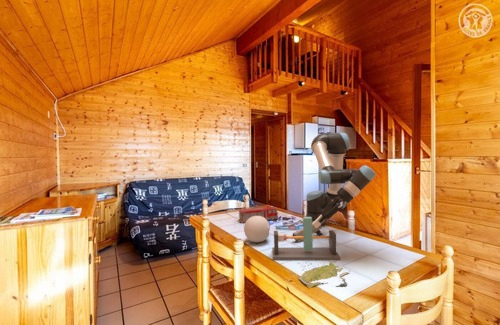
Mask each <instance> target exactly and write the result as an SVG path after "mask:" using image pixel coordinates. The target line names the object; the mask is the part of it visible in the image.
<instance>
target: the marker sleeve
mask: <svg viewBox="0 0 500 325" xmlns="http://www.w3.org/2000/svg"><path fill="white" fill-rule="evenodd" d="M302 228H303V236H304V239H303V247H304V250H313V247H314V246H313V245H314V244H313V237H312V236H313V234H312V218H311V217H306V216H302Z"/></svg>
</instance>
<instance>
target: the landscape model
mask: <svg viewBox="0 0 500 325" xmlns="http://www.w3.org/2000/svg"><path fill="white" fill-rule="evenodd" d="M343 270H344V267H339V266H338V265H336V264H335V263H334V262H332V261H330V262H328V264H326V265H322V266H318V267H314V268H312V269H309V270H305V271H304V272H303V273H302V274H301V275H300V276H298V280H300V281H301V282H302V283H303V284H304V285H306V287H307V289H311V288H313V287H315V286H319V285H324V284H327V282H325V281H323V282H320V280H321V281H322V280H328V279H330V278H334V277H336V278H337V277H338V273H340V274H339V279H341V280H342V281H341V283H340V284H338V285H337V286H336V287H343V286H344V287H346V286H347V284H348V283H347V282H346V278H343V277H342V276H345V275H347V274H350V273H351V270H348V272H346V271H345V272H342V271H343ZM315 281H316V282H315ZM318 281H319V282H318ZM309 287H310V288H309Z"/></svg>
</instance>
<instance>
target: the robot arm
mask: <svg viewBox="0 0 500 325" xmlns="http://www.w3.org/2000/svg"><path fill="white" fill-rule="evenodd" d="M350 144H351V143H350V137H349V136H348V134H347V133H345V132H329V133H326V132H325V133H320V134H318V135H316V136H315V137H314V138H313V139H312V142H311V143H310V149H311V151H312V153H313V154H314V156H315V157H316V158H315V159H316V161H317V164H318V166H319V169H320V170H319V171H318V182H319V183H320V184H322V185H328V188H327V189H326V192H324V191H323V190H313V191H309V192H307V193H306V199H305V200H306V215H305V217H311V218H312V222H313V221H314V222H313V223H312V225H313V226H314V227H316V228H318V227H319V226H320V225H321V224H322V223H323V222H324V223H325V224H324V226H323V227H326V226H327V225H328V224H327V220H329V219H331V218H332V217H333V216H335V214H337V213H338V212H339V211H340V210H343V209H344V208H346V206H347V203H348V204H349V203H350V202H352V200H354V198H355V197H357V196H358V195H359V194H360V192H362V190H363V189H364V188H365V187H366V186H368V184H369V183H370V182H372V181H373V179H374V178H375V177H376V172H375V171H374V170H373V169H372V168H371V167H369V166H368V165H365V164H364V165H362V166H361V167H359V169H357V168H348V169H347V168H346V169H344V167H343V166H344V156H345V155H346V154H347V151H349V150H350V146H351V145H350Z"/></svg>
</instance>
